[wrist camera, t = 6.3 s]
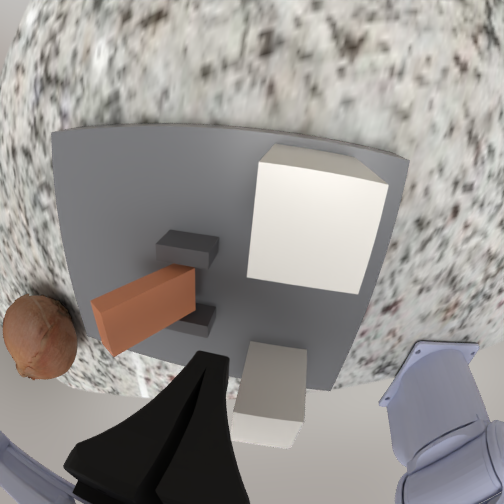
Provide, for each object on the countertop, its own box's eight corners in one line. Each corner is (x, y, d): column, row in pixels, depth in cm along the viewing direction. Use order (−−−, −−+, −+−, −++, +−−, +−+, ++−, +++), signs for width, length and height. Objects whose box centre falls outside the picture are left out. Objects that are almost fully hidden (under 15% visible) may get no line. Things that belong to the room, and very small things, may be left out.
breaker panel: (329, 364, 24) (330, 410, 19) (102, 317, 26) (76, 349, 21) (392, 152, 15) (424, 168, 11) (78, 127, 17) (31, 137, 13)
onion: (79, 322, 32) (46, 386, 26) (25, 276, 27) (-13, 343, 21) (105, 329, 26) (64, 411, 20) (35, 270, 21) (-16, 358, 15)
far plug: (295, 383, 21) (290, 449, 16) (245, 375, 21) (230, 439, 16) (307, 349, 19) (304, 422, 14) (250, 341, 20) (233, 411, 14)
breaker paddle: (195, 310, 17) (113, 357, 13) (182, 301, 18) (102, 344, 14) (195, 268, 16) (100, 313, 12) (181, 260, 17) (89, 300, 12)
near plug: (339, 230, 15) (358, 294, 10) (266, 218, 15) (246, 277, 10) (354, 157, 13) (388, 184, 8) (275, 143, 14) (258, 161, 8)
